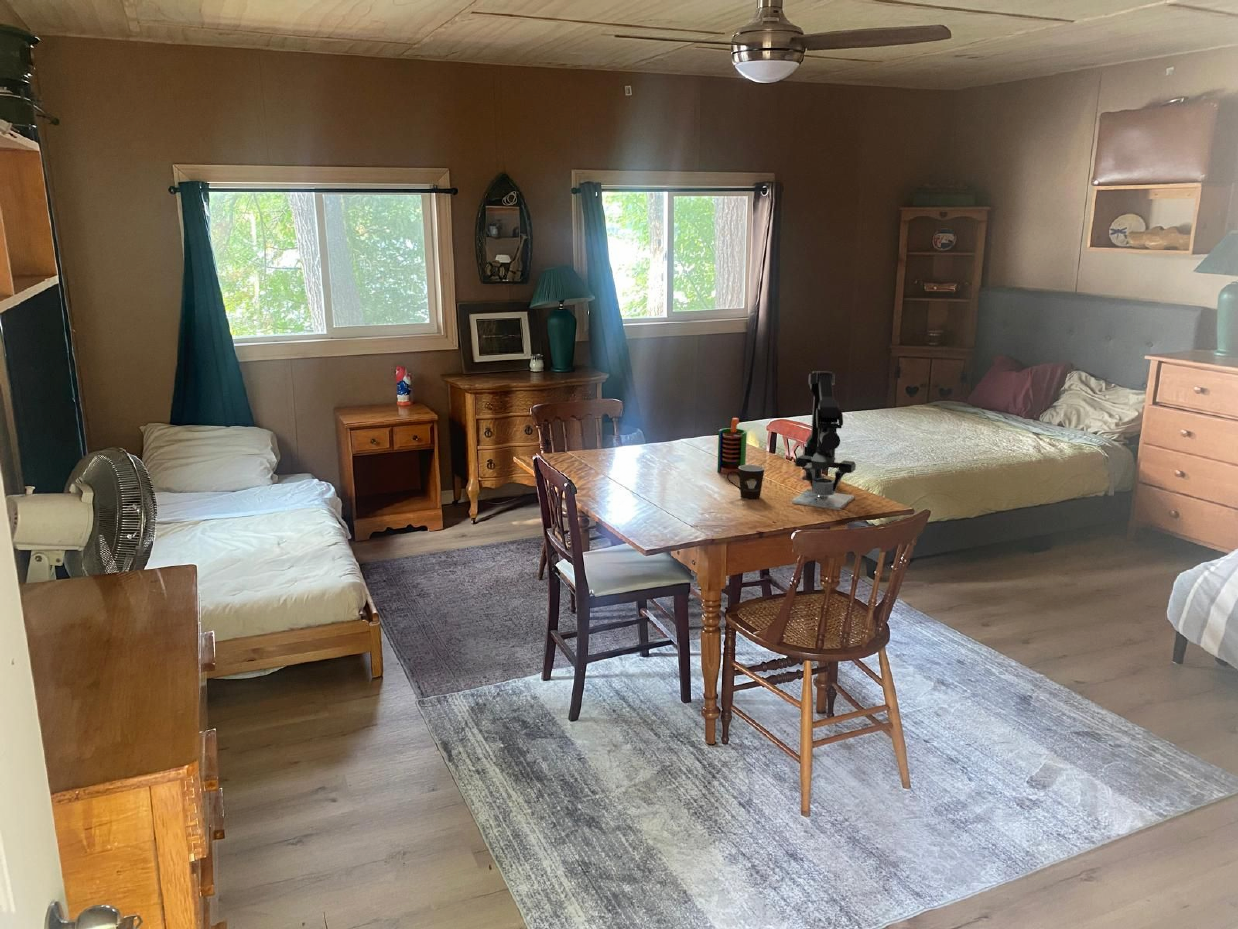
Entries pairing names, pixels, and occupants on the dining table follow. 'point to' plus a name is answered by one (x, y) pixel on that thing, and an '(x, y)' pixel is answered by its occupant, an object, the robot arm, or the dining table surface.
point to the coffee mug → (749, 481)
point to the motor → (731, 448)
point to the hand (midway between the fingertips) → (823, 489)
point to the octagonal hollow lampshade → (823, 486)
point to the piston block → (823, 500)
